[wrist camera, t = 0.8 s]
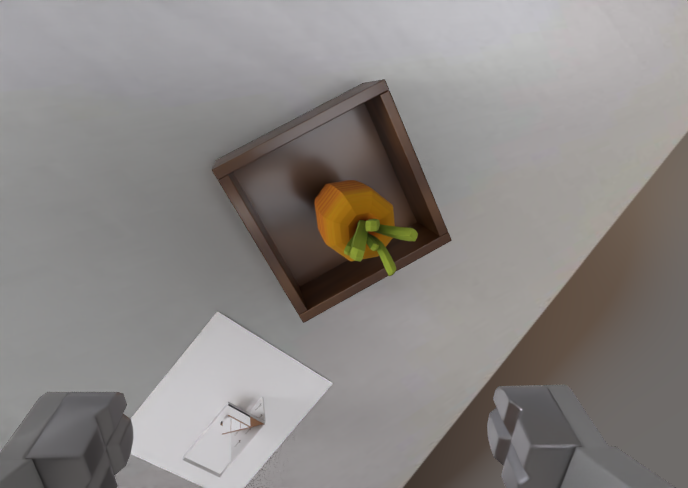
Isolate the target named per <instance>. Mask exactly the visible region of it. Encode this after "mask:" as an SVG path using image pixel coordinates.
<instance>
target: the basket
mask: <svg viewBox="0 0 688 488" xmlns="http://www.w3.org/2000/svg"><path fill="white" fill-rule="evenodd" d="M212 171H213V173H214V174H215V176H216V178H217V179H219V180H218V181H219V183H220V184H221V186H222V188H223V189H224V191H225V193H226V194H227V196H228V198H229V199H230V201H231V203H232V204H233V206H234V208H235V209H236V211H237V213H238V214H239V216H240V218H241V219H242V221H243V223H244V224H245V226H246V228H247V229H248V231H249V233H250V234H251V236H252V238H253V239H254V241H255V243H256V244H257V246H258V248H259V249H260V251H261V253H262V255H263V256H264V258H265V260H266V261H267V263H268V265H269V266H270V268H271V270H272V271H273V273H274V275H275V276H276V278H277V280H278V281H279V283H280V285H281V286H282V288H283V290H284V291H285V293H286V295H287V296H288V298H289V300H290V301H291V303H292V305H293V306H294V308H295V310H296V311H297V313H298V314H299V316H300V318H301V320H302V321H303V323H304V322H306V321H308V320H310V319H311V318H313V317H315V316H317V315H319V314H320V313H322V312H324V311H326V310H327V309H329V308H331V307H333V306H335V305H336V304H338V303H340V302H342V301H344V300H345V299H347V298H349V297H351V296H353V295H354V294H356V293H358V292H360V291H362V290H363V289H365V288H367V287H369V286H371V285H372V284H374V283H376V282H378V281H380V280H381V279H383V278H385V277H387V276H389V275H388V273H387V272H386V269H385V267H384V265H383V263H382V260H381V258H380V256H378V257H372V258H367V259H362V260H361V262H360V261H349V260H348V259H346V258H345V257H343V256H342V255H340V254H339V253H338V252H336V251H335V250H333V249H332V248H330V247H329V246H327V245H326V243H325V242H324V240H323V238H322V236H321V234H320V232H319V230H318V225H317V218H316V211H315V198H316V196H317V195H318V194H319V192H320V191H321V190H322V188H323V187H324V186H325V184H328V183H334V182H341V181H347V180H355V181H358V182H361V183H363V184H365V185H367V186H369V187H370V188H372V189H373V190H374V191H376V192H377V193H378V194H379V195H381V196H382V197H383V198H384V199H386V200H387V201H388V202H390V203H391V204H392V205H393V211H394V223H395V226H396V227H407V228H413V229H414V230H416V231H417V233H418V236H417V239H416V240H415V241H404V240H399V239H396V238H392V240H391V241H390V242H389V243H388V245H387V246H386V249H387V250H388V252H389V254H390V255H391V257H392V259H393V261H394V263H395V266H396V271H398V270H399V269H401V268H403V267H405V266H407V265H408V264H410V263H412V262H414V261H416V260H417V259H419V258H421V257H423V256H425V255H426V254H428V253H430V252H432V251H434V250H435V249H437V248H439V247H441V246H442V245H444V244H446V243H448V242H450V241H451V237H450V235H449V233H448V231H447V228H446V226H445V223H444V221H443V219H442V216H441V214H440V211H439V209H438V207H437V204H436V202H435V199H434V197H433V194H432V192H431V190H430V187H429V185H428V182H427V180H426V178H425V175H424V173H423V170H422V168H421V166H420V163H419V161H418V158H417V156H416V154H415V151H414V149H413V146H412V144H411V142H410V139H409V137H408V134H407V132H406V129H405V127H404V125H403V122H402V120H401V117H400V115H399V113H398V110H397V108H396V105H395V103H394V101H393V98H392V96H391V93H390V91H389V88H388V86H387V83H386V81H385V79H383V80H377V81H372V82H366V83H362V84H360V85H358V86H356V87H354V88H353V89H351V90H349V91H347V92H345V93H343V94H341V95H339V96H337V97H335V98H333V99H332V100H330V101H328V102H326V103H324V104H322V105H320V106H318V107H316V108H314V109H312V110H311V111H309V112H307V113H305V114H303V115H301V116H299V117H297V118H295V119H293V120H291V121H290V122H288V123H286V124H284V125H282V126H280V127H278V128H276V129H274V130H272V131H270V132H269V133H267V134H265V135H263V136H261V137H259V138H257V139H255V140H253V141H251V142H249V143H248V144H246V145H244V146H242V147H240V148H238V149H236V150H234V151H232V152H230V153H228V154H227V155H225V156H223V157H221V158H219V159H217V160H216V161H215V163H214V166H213V169H212ZM396 271H395V272H396Z"/></svg>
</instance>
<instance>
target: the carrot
mask: <svg viewBox="0 0 688 488" xmlns="http://www.w3.org/2000/svg"><path fill="white" fill-rule="evenodd" d="M315 211H316V218H317V225H318V230H319V232H320V234H321V236H322V238H323V240H324V242H325V243H326V245H327V246H329V247H330V248H332V249H333V250H335V251H336V252H338V253H339V254H340V255H342V256H343V257H345V258H346V259H348V260H349V261H360V262H361V260H362V259H367V258H372V257H378V256H380V258H381V260H382V263H383V265H384V267H385V269H386V272H387V273H388V275H389V276H391V275H393V274H394V273H395V271H396V266H395V263H394V261H393V259H392V257H391V255H390V254H389V252H388V250H387V249H386V246H387V245H388V243H389V242H390V241H391V240H392V238H396V239H399V240H404V241H415V240H416V239H417V236H418V233H417V231H416V230H414V229H413V228H407V227H396V226H395V223H394V211H393V205H392V204H391V203H390V202H388V201H387V200H386V199H384V198H383V197H382V196H381V195H379V194H378V193H377V192H376V191H374V190H373V189H372V188H370V187H369V186H367V185H365V184H363V183H361V182H358V181H355V180H347V181H341V182H334V183H328V184H325V186H324V187H323V188H322V190H321V191H320V192H319V194H318V195H317V196H316V198H315Z"/></svg>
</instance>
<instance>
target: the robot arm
mask: <svg viewBox="0 0 688 488" xmlns="http://www.w3.org/2000/svg"><path fill="white" fill-rule="evenodd" d="M493 399H494V402H495V404H496V408H495V409H494V410H493V411H492V412H491V413H490V414H489V419H488V424H487V427H488V439H489V443H490V448H491V450H492V453H493V455H494V458H495V459H497V460H498V461H499V462H500V463H501V464H502V465H504V468H503V471H502V475H501V477H502V479H503V482H504V484H505V487H506V488H676V487H674V486H673V485H671V484H670V483H668V482H667V481H666V480H664V479H662V478H661V477H660V476H658V475H657V474H655V473H654V472H652V471H651V470H649V469H648V468H646V467H645V466H644V465H642V464H641V463H639V462H638V461H636V460H635V459H633V458H632V457H630V456H629V455H628V454H626V453H624V452H623V451H622V450H620V449H619V448H617V447H616V446H608V445H607V443H606V441H605V440H604V438H603V437H602V436H601V434H600V432H599V431H598V429H597V428H596V426H595V425H594V423H593V422H592V420H591V419H590V417H589V416H588V414H587V413H586V411H585V410H584V408H583V407H582V405H581V404H580V402H579V400H578V399H577V398H576V396H575V394H574V393H573V391H572V390H571V389H570V388H569V387H568V386H567V385H543V386H541V385H534V386H499V387H498V388H497V389H496V391H495V394H494V398H493ZM126 406H127V403H126V400H125V397H124V394H123V393H119V392H47V393H45V394H44V395H42V396H41V397H40V398H39V399H38V400H37V401H36V403H35V404H34V406H33V407H32V408H31V410H30V411H29V413H28V414H27V415H26V417H25V418H24V420H23V421H22V422H21V424H20V425H19V427H18V428H17V429H16V431H15V432H14V434H13V435H12V436H11V438H10V439H9V441H8V442H7V443H6V445H5V446H4V448H3V449H2V450H1V452H0V488H117V483H116V479H115V476H114V475H115V474H117V473H118V472H119V471H120V470H121V469H122V468H124V467H125V466H126V464H127V461H128V459H129V456H130V454H131V449H132V444H133V439H134V437H133V425H132V421H131V419H130V418H128V417H127V416H126V415H125V414H123V412H124V410H125V408H126Z"/></svg>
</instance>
